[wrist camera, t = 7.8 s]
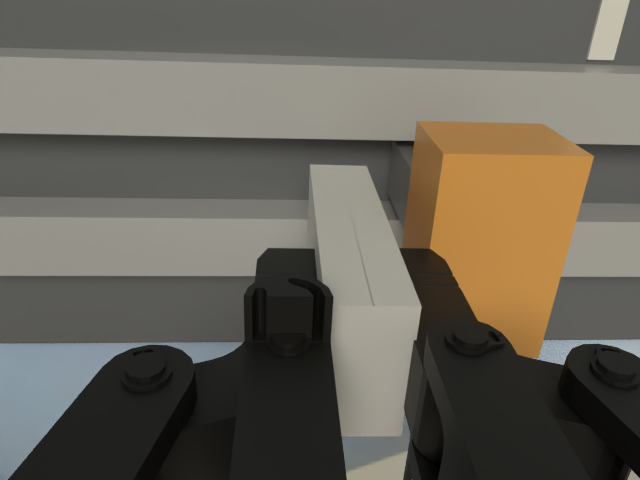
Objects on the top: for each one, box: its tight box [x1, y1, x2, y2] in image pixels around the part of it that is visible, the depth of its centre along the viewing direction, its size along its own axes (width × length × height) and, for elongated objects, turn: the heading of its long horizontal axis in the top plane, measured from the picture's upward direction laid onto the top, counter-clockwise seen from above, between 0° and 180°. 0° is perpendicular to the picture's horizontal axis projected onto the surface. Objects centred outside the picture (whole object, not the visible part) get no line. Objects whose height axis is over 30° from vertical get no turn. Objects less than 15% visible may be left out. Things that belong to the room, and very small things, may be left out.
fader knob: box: [387, 121, 594, 358], centre depth 15 cm, size 3×5×6 cm, turn 178°
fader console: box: [0, 0, 640, 343], centre depth 18 cm, size 30×14×4 cm, turn 88°
